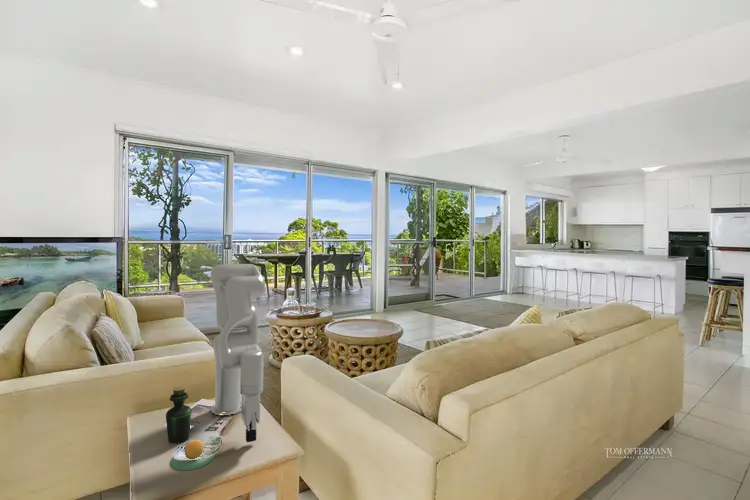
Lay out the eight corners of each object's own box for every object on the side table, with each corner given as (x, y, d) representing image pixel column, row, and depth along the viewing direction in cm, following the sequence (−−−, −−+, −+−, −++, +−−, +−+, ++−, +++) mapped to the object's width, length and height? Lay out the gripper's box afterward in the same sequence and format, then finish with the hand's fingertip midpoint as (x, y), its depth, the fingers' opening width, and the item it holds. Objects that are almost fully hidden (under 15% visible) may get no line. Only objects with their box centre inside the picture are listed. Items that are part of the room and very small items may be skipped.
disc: (170, 453, 128) (170, 452, 128) (213, 444, 134) (213, 443, 134) (169, 474, 116) (169, 474, 116) (216, 464, 122) (216, 463, 122)
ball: (195, 454, 128) (180, 449, 126) (206, 439, 129) (191, 434, 127) (197, 465, 124) (181, 459, 121) (207, 449, 125) (192, 443, 122)
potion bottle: (196, 438, 138) (196, 387, 137) (173, 448, 131) (174, 394, 130) (183, 431, 142) (183, 382, 142) (160, 440, 135) (161, 389, 135)
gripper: (237, 381, 138) (236, 432, 139) (243, 397, 125) (242, 453, 125) (258, 378, 142) (258, 428, 142) (267, 393, 128) (266, 448, 129)
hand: (251, 440), depth 134 cm, fingers closed
